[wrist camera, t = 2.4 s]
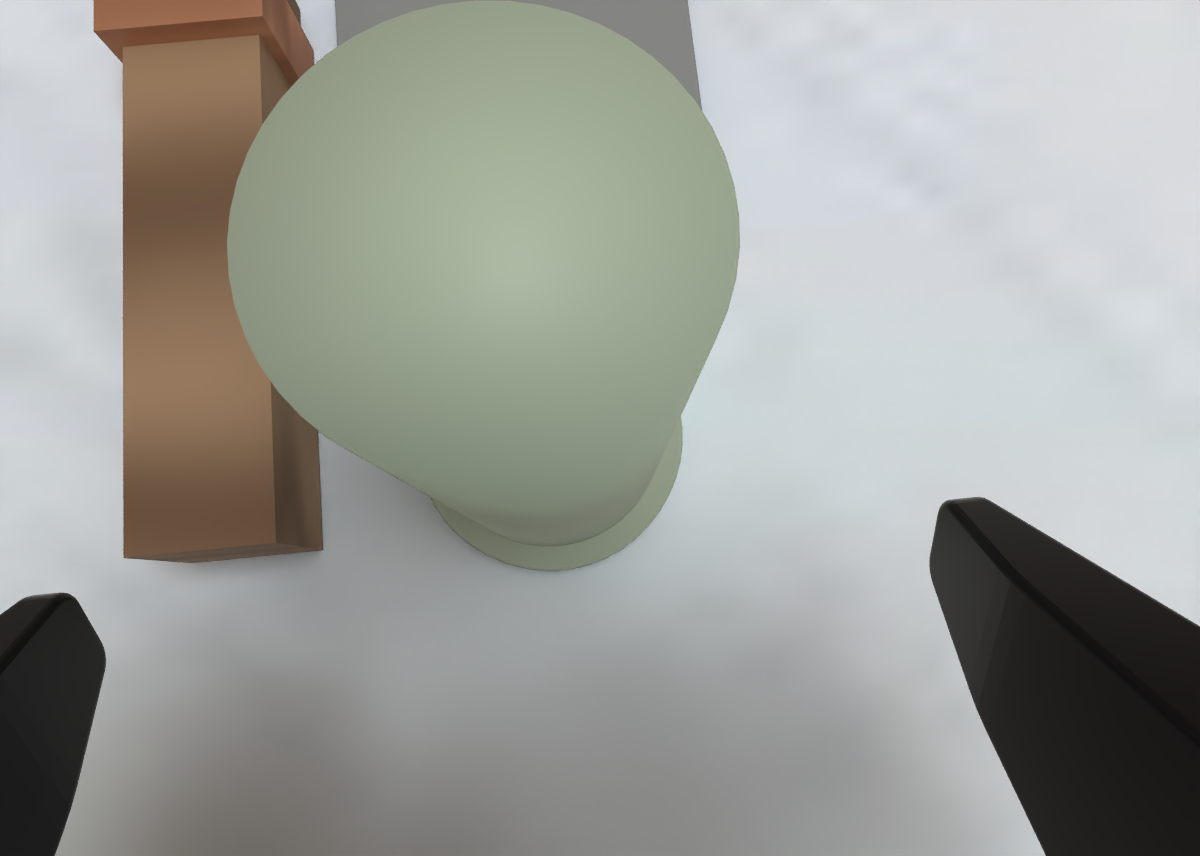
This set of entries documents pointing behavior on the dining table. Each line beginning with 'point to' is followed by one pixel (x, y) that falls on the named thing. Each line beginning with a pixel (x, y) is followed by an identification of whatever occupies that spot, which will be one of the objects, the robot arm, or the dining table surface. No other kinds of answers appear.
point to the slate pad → (620, 3)
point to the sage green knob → (492, 268)
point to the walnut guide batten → (201, 286)
